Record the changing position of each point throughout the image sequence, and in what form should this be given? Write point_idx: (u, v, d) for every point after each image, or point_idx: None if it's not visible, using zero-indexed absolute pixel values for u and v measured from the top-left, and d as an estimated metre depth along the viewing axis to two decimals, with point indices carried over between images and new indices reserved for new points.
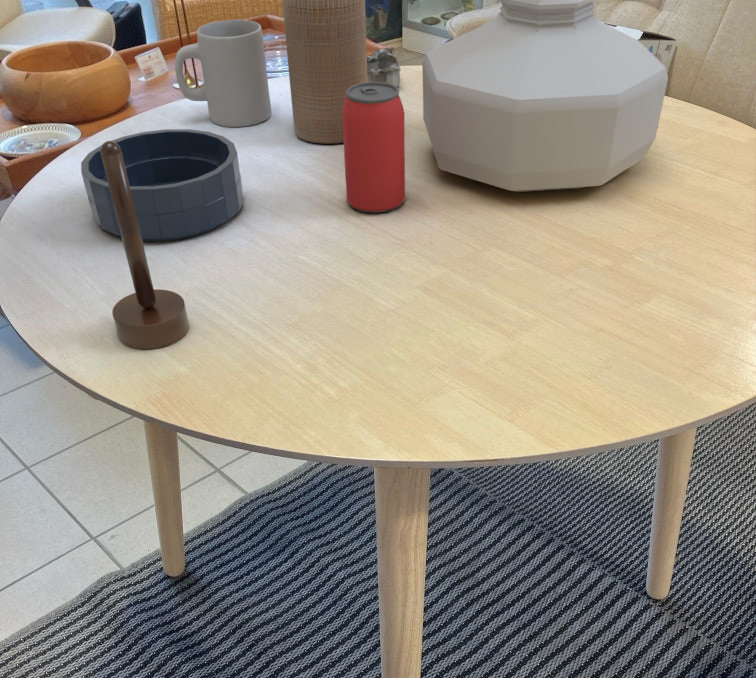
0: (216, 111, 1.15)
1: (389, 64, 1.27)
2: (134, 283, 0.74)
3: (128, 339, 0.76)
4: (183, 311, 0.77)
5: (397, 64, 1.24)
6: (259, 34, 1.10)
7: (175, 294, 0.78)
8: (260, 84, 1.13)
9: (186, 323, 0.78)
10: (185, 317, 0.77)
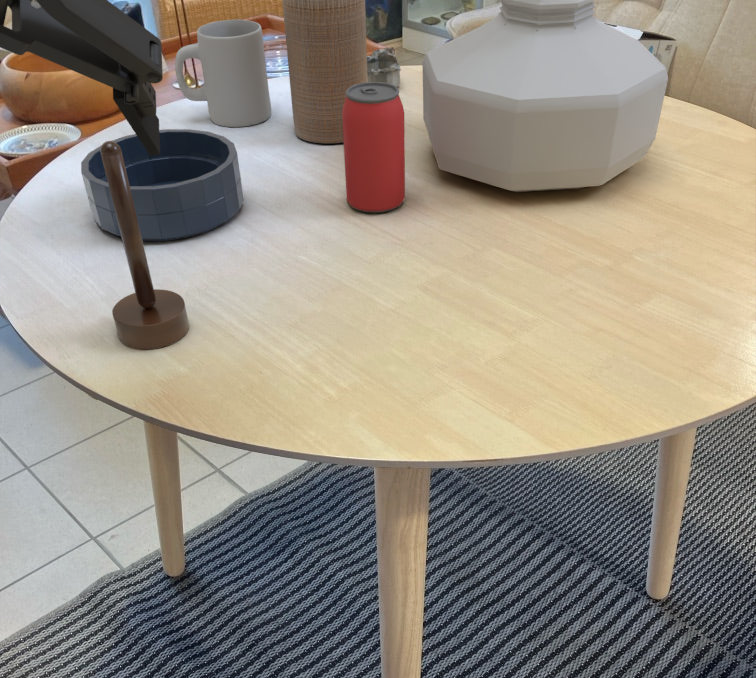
0: (216, 111, 1.15)
1: (389, 64, 1.27)
2: (134, 283, 0.74)
3: (128, 339, 0.76)
4: (183, 311, 0.77)
5: (397, 64, 1.24)
6: (259, 34, 1.10)
7: (175, 294, 0.78)
8: (260, 84, 1.13)
9: (186, 323, 0.78)
10: (185, 317, 0.77)
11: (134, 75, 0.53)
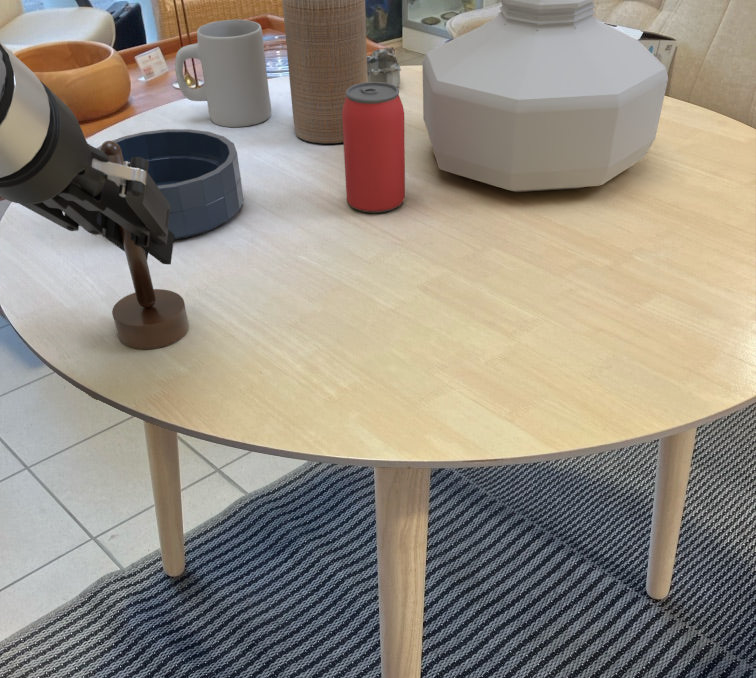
0: (216, 111, 1.15)
1: (389, 64, 1.27)
2: (134, 283, 0.74)
3: (128, 339, 0.76)
4: (183, 311, 0.77)
5: (397, 64, 1.24)
6: (259, 34, 1.10)
7: (175, 294, 0.78)
8: (260, 84, 1.13)
9: (186, 323, 0.78)
10: (185, 317, 0.77)
11: (146, 228, 0.69)
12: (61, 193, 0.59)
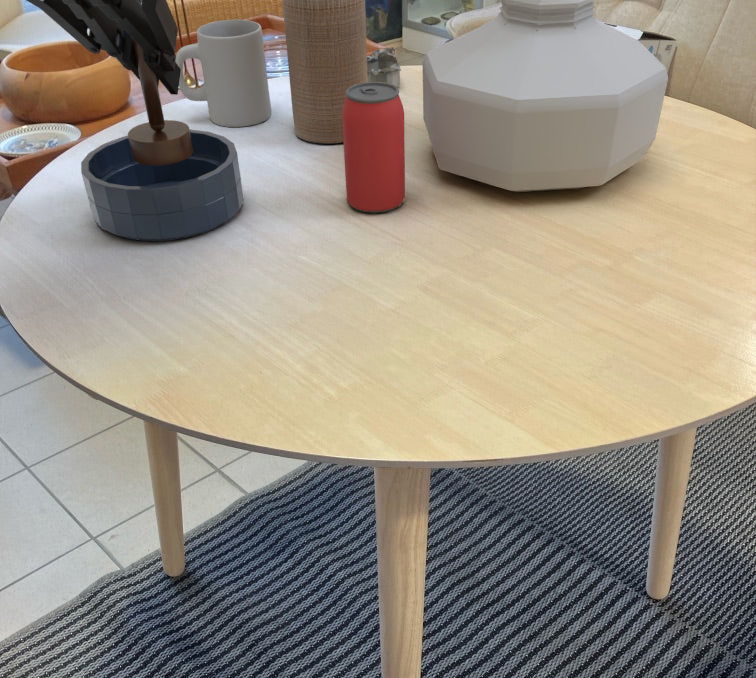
0: (216, 111, 1.15)
1: (389, 64, 1.27)
2: (146, 106, 0.87)
3: (142, 156, 0.89)
4: (188, 134, 0.89)
5: (397, 64, 1.24)
6: (259, 34, 1.10)
7: (181, 122, 0.91)
8: (260, 84, 1.13)
9: (191, 146, 0.90)
10: (190, 140, 0.90)
11: (158, 48, 0.82)
12: None
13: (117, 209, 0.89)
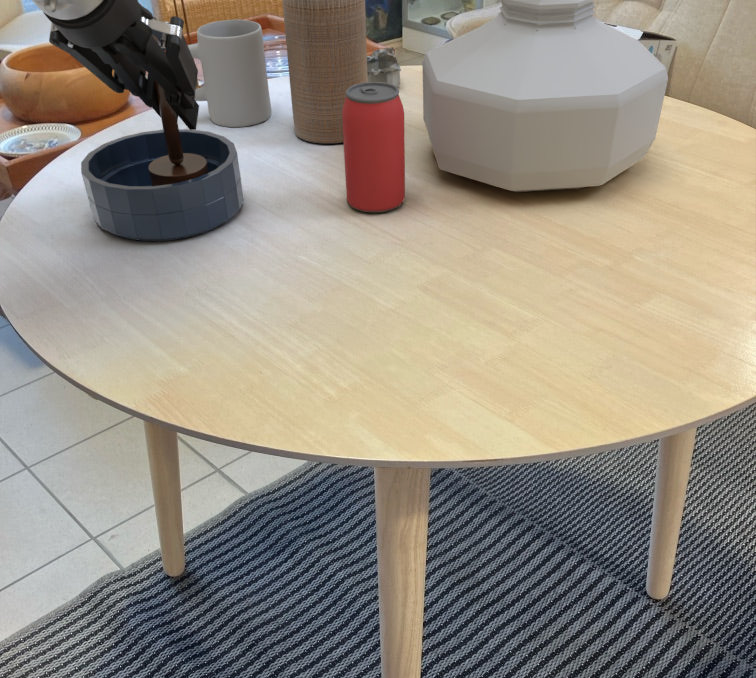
0: (216, 111, 1.15)
1: (389, 64, 1.27)
2: (166, 141, 0.92)
3: None
4: (206, 167, 0.94)
5: (397, 64, 1.24)
6: (259, 34, 1.10)
7: (199, 156, 0.96)
8: (260, 84, 1.13)
9: None
10: None
11: (178, 89, 0.86)
12: (116, 44, 0.77)
13: (117, 209, 0.89)
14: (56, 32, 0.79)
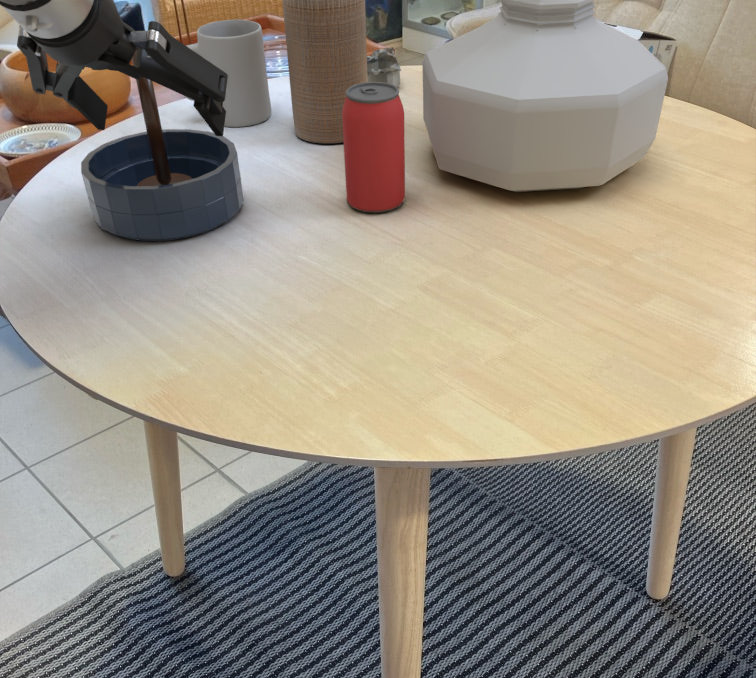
0: None
1: (389, 64, 1.27)
2: (154, 162, 0.92)
3: None
4: None
5: (397, 64, 1.24)
6: (259, 34, 1.10)
7: (187, 176, 0.96)
8: (260, 84, 1.13)
9: None
10: None
11: None
12: (98, 62, 0.77)
13: (117, 209, 0.89)
14: (28, 38, 0.77)
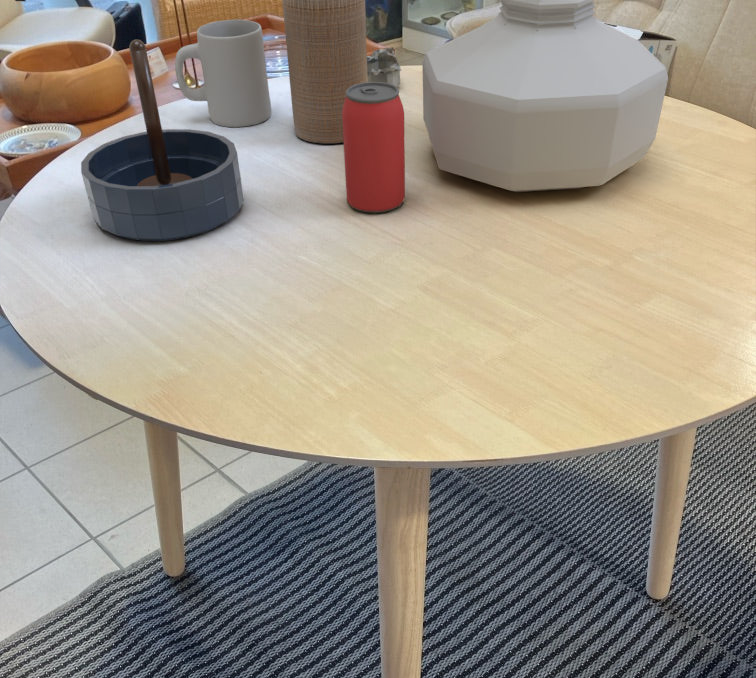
0: (216, 111, 1.15)
1: (389, 64, 1.27)
2: (154, 162, 0.92)
3: None
4: None
5: (397, 64, 1.24)
6: (259, 34, 1.10)
7: (187, 176, 0.96)
8: (260, 84, 1.13)
9: None
10: None
11: None
12: None
13: (117, 209, 0.89)
14: None
